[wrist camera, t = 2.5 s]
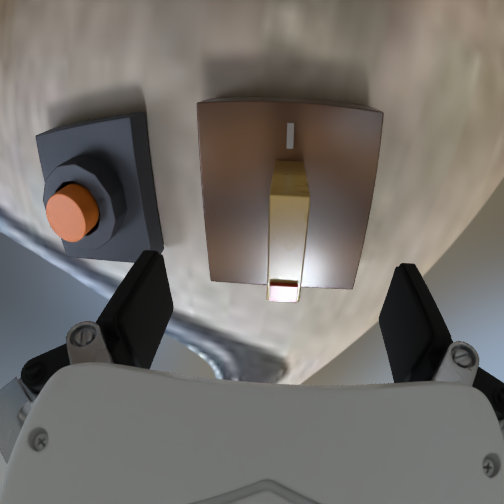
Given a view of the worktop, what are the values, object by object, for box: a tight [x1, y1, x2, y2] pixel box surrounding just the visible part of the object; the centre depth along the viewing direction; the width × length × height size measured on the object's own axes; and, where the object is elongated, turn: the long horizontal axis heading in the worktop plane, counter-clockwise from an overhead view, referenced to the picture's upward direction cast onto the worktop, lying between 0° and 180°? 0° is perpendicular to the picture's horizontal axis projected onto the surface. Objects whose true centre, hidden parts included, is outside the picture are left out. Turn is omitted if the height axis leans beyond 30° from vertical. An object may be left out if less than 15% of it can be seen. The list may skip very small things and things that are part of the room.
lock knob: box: [266, 160, 310, 303], centre depth 15 cm, size 6×2×5 cm, turn 0°
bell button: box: [46, 184, 99, 242], centre depth 17 cm, size 4×4×2 cm
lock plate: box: [197, 97, 384, 289], centre depth 18 cm, size 12×10×3 cm
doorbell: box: [36, 112, 164, 263], centre depth 19 cm, size 11×9×4 cm
